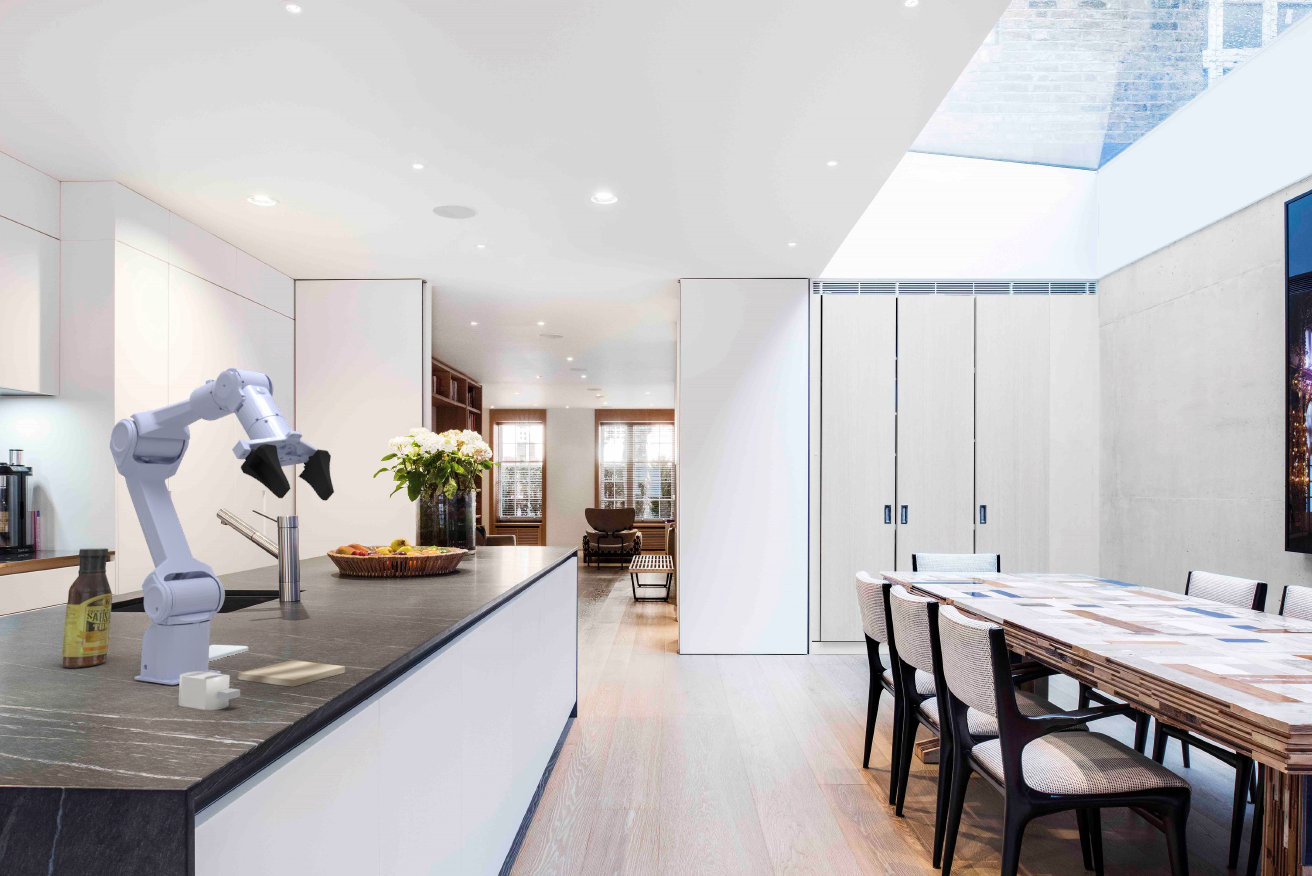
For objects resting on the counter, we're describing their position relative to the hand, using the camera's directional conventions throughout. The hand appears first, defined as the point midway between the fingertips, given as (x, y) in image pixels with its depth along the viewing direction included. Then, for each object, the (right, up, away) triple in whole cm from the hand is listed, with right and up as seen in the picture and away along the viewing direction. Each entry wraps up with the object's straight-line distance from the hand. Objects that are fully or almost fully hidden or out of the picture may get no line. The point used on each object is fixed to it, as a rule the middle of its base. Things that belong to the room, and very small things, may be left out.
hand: (307, 494), depth 107 cm
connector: (-11, -29, -6) cm, 31 cm away
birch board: (-8, -30, +11) cm, 33 cm away
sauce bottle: (-48, -31, +20) cm, 60 cm away
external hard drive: (-31, -32, +26) cm, 51 cm away
